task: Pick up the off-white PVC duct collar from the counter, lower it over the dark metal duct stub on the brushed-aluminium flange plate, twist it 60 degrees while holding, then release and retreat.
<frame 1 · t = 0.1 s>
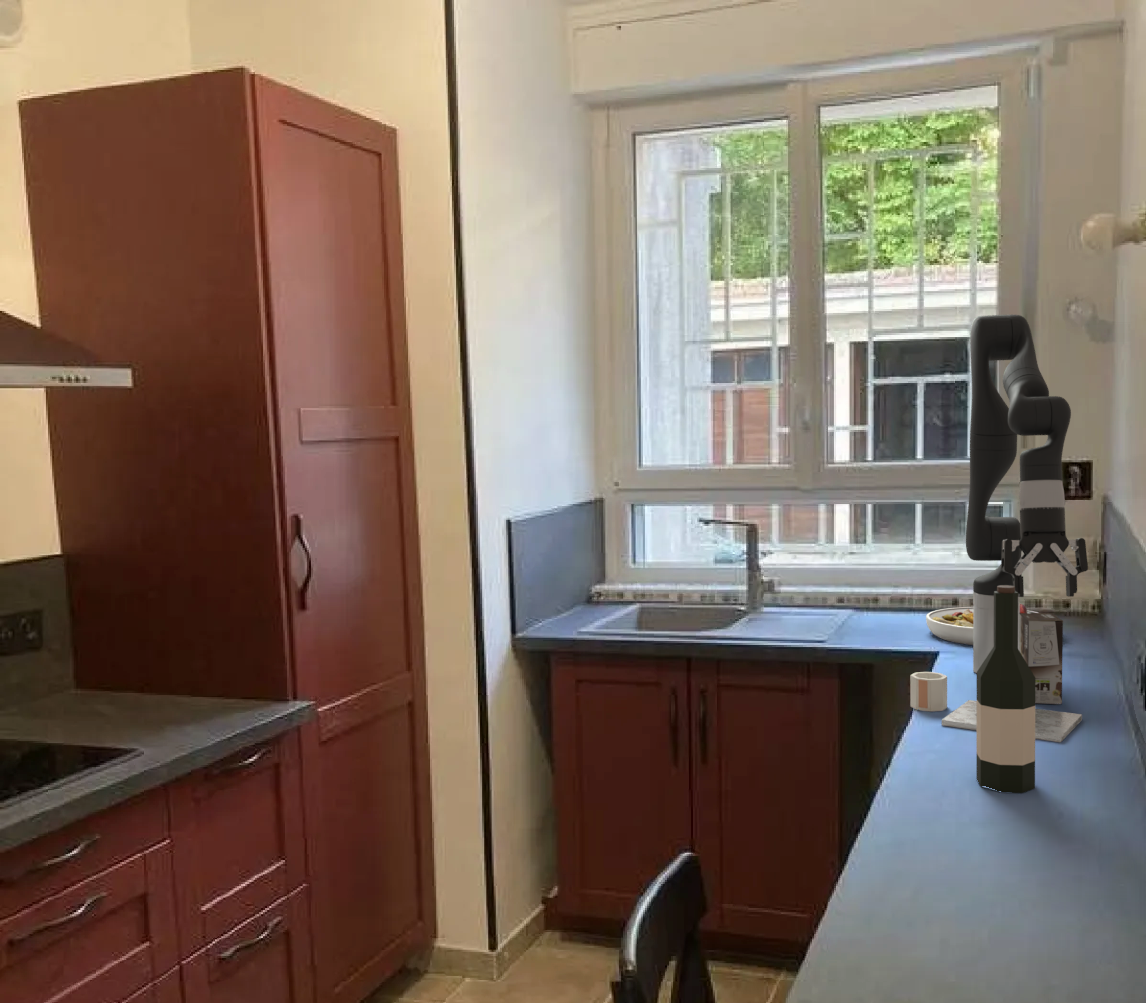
hand: (1045, 596, 199), 22 cm above the worktop, tool pointing down, fingers open, 8 cm apart
wine bottle: (1005, 785, 166), on the worktop
duct plate: (1011, 722, 198), on the worktop
bowl: (989, 638, 273), on the worktop
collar: (928, 706, 210), on the worktop
coffee box: (1040, 699, 214), on the worktop
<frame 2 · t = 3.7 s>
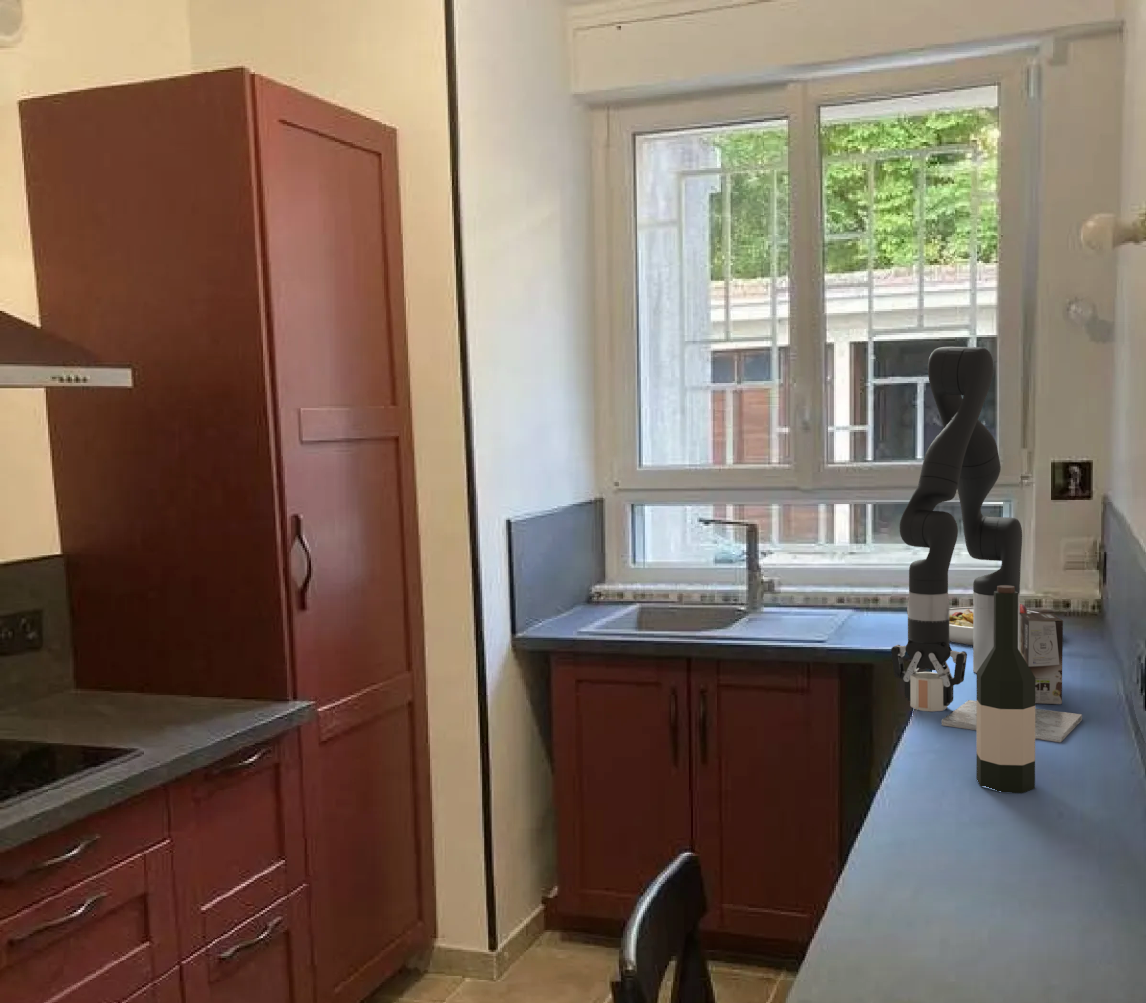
hand: (928, 702, 210), 1 cm above the worktop, tool pointing down, fingers closed on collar, 6 cm apart
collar: (928, 706, 210), on the worktop, touching gripper
everything else where it was.
when the fingers open (2 cm above the worktop, at t = 10.3 s): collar stays where it is, resting on duct plate.
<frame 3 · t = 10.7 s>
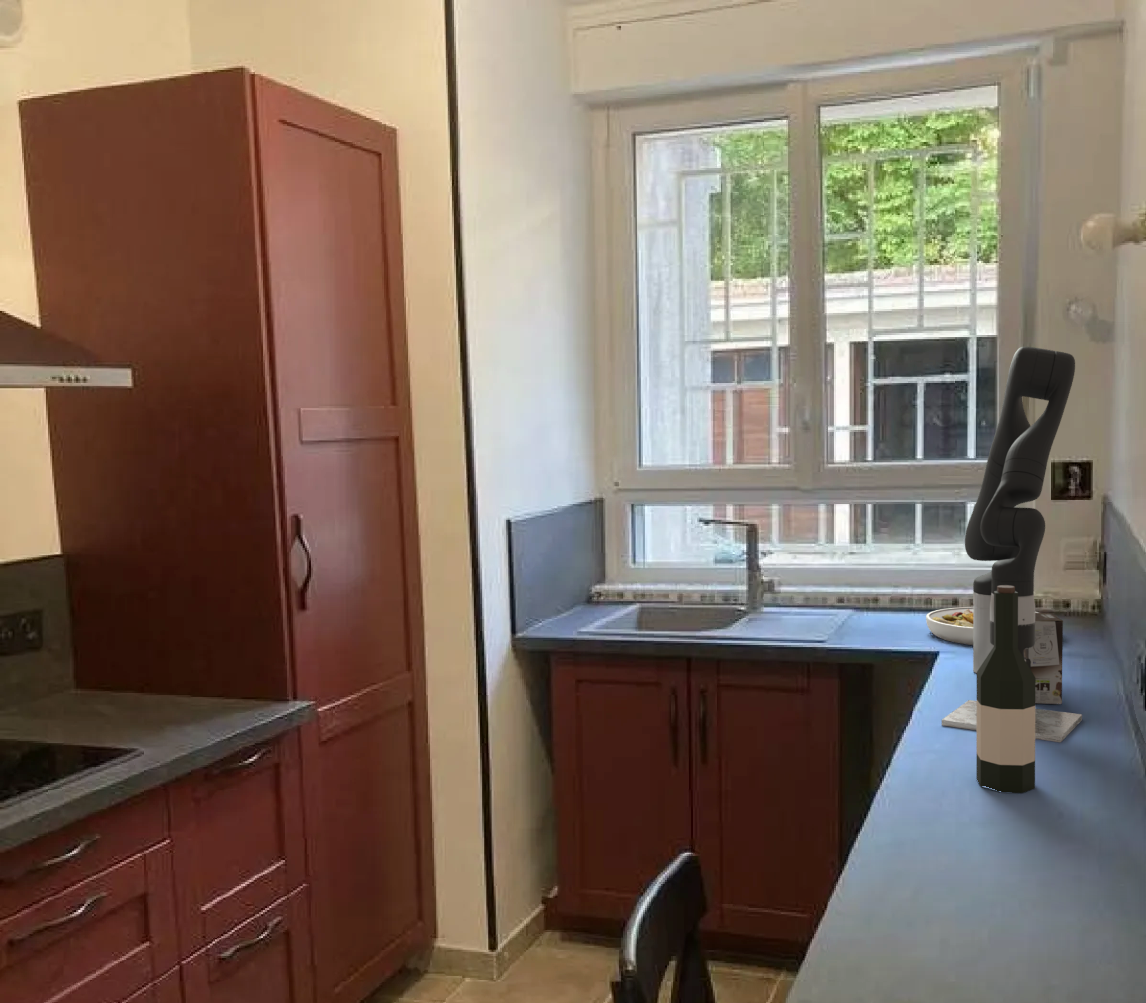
hand: (1012, 708, 198), 3 cm above the worktop, tool pointing down, fingers open, 8 cm apart
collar: (1011, 717, 198), point 1 cm above the worktop, touching duct plate
everything else where it was.
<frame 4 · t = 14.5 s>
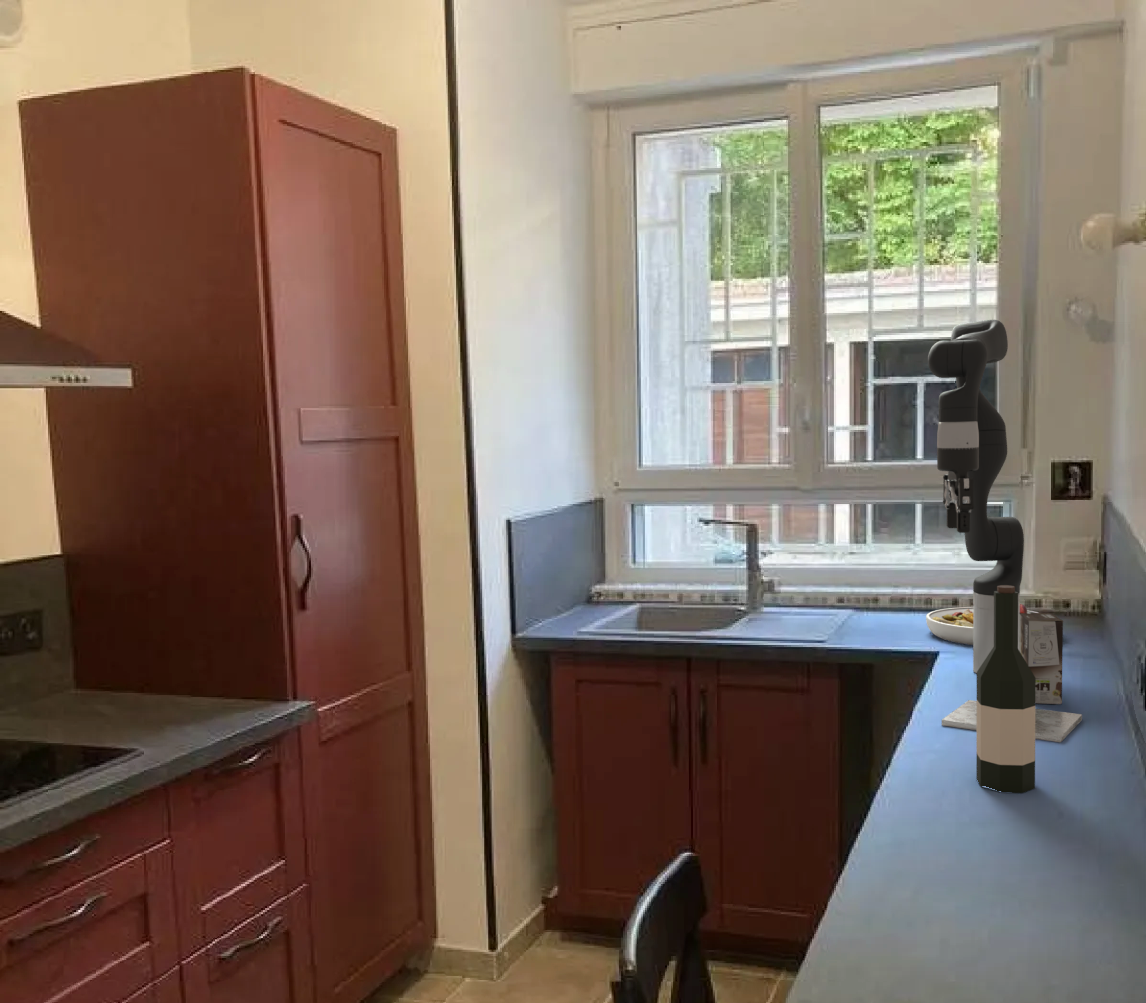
hand: (957, 530, 212), 33 cm above the worktop, tool pointing down, fingers open, 8 cm apart
nothing on the worktop moved.
at the end: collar 0.1 cm off-centre on the duct plate, point 1.0 cm above the duct plate's base; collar tilted 0°; the gripper is holding nothing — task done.
